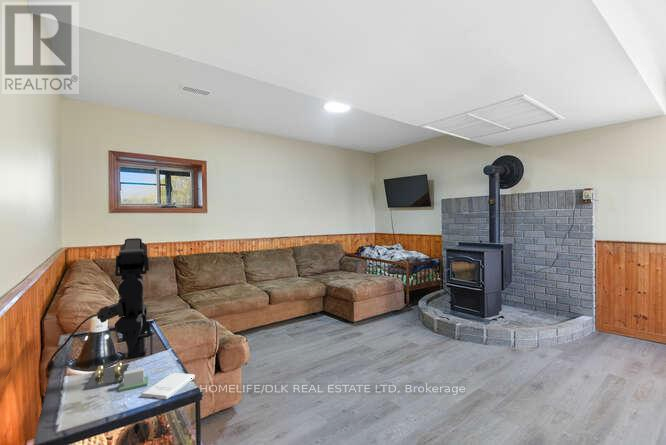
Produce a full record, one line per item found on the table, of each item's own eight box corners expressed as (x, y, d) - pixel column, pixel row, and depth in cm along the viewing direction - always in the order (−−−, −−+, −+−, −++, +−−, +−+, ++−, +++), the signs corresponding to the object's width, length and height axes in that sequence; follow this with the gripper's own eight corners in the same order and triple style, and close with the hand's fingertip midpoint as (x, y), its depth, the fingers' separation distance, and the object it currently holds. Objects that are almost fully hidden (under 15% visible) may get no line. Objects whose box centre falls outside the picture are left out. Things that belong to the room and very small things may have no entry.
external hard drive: (195, 379, 99) (166, 401, 87) (171, 377, 101) (140, 398, 89) (195, 374, 99) (166, 395, 87) (171, 372, 101) (140, 392, 89)
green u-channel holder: (121, 385, 96) (121, 370, 96) (148, 379, 99) (148, 365, 99) (118, 393, 91) (118, 377, 92) (147, 386, 95) (146, 371, 95)
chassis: (96, 371, 105) (96, 361, 105) (128, 366, 109) (128, 356, 109) (85, 389, 93) (85, 378, 93) (122, 382, 97) (122, 371, 97)
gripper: (106, 290, 100) (107, 339, 100) (91, 303, 84) (92, 362, 84) (147, 286, 105) (148, 334, 105) (140, 297, 88) (141, 354, 88)
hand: (133, 345), depth 95 cm, fingers open, 9 cm apart
